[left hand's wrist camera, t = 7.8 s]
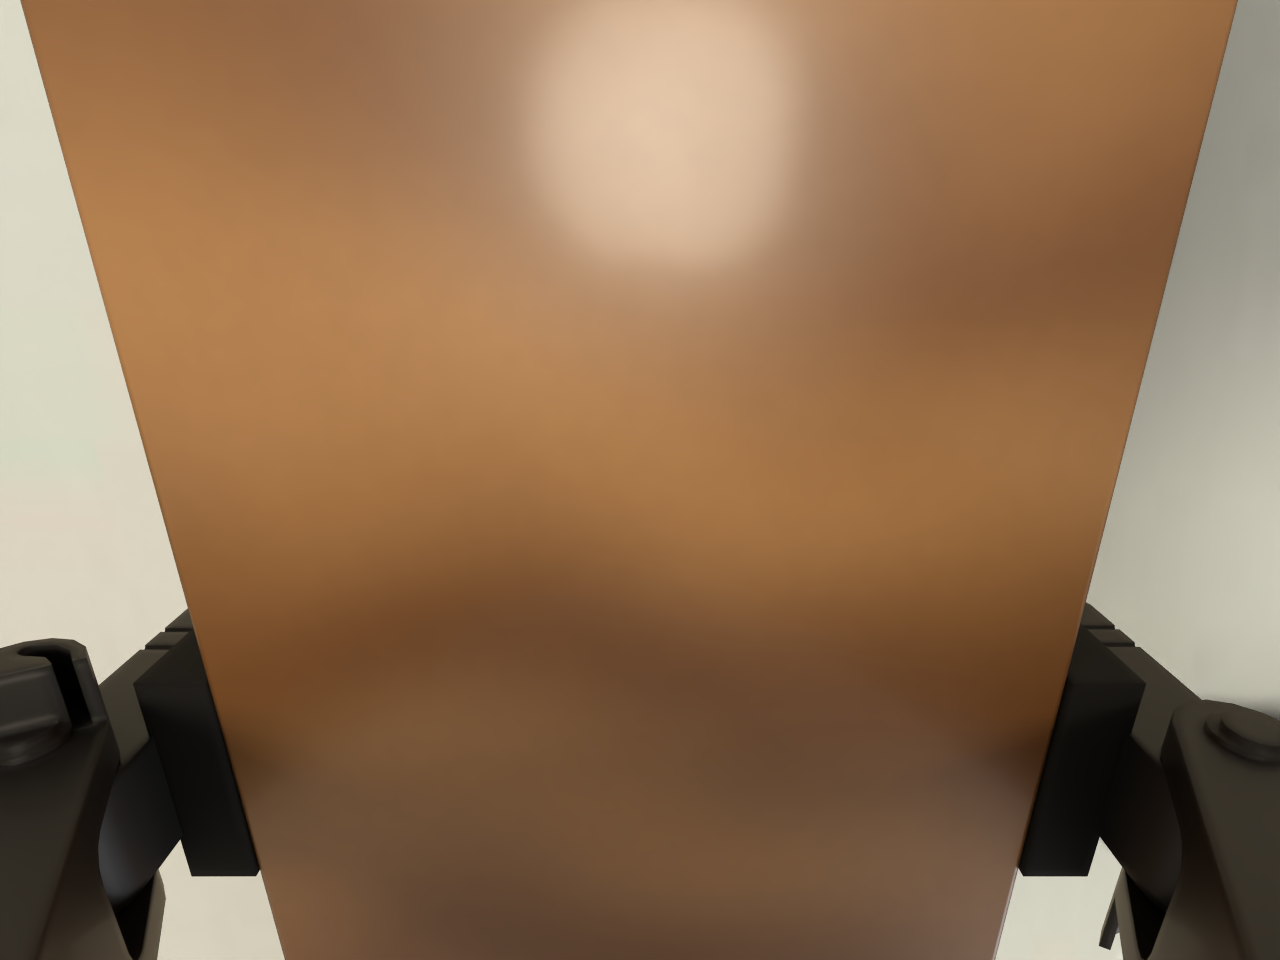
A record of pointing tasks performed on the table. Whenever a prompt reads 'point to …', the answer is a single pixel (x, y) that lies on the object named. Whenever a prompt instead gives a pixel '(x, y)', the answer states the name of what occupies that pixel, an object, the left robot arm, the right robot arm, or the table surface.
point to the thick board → (634, 437)
